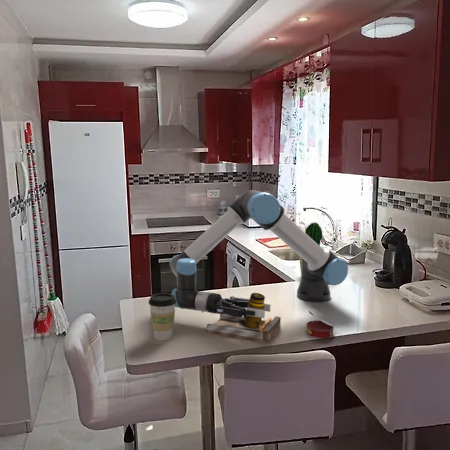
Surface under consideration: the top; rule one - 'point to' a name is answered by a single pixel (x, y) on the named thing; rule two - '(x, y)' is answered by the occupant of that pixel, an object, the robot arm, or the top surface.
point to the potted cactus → (313, 235)
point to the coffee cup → (162, 315)
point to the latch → (265, 325)
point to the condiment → (251, 321)
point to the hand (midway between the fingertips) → (267, 311)
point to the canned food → (319, 328)
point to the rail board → (243, 329)
